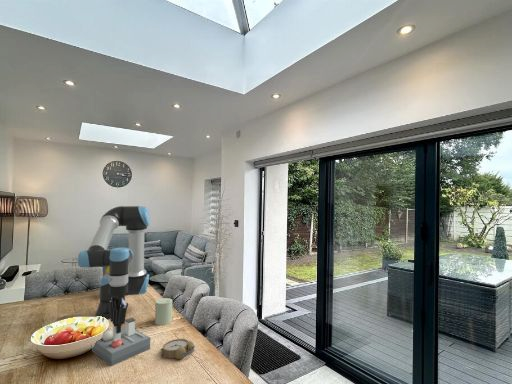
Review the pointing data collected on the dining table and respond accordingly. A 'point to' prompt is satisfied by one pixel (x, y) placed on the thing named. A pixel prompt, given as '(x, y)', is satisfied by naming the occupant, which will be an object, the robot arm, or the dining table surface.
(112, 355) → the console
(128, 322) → the slider knob
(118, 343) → the button red
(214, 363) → the dining table surface
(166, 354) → the alarm clock
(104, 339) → the button cream
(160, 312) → the can
